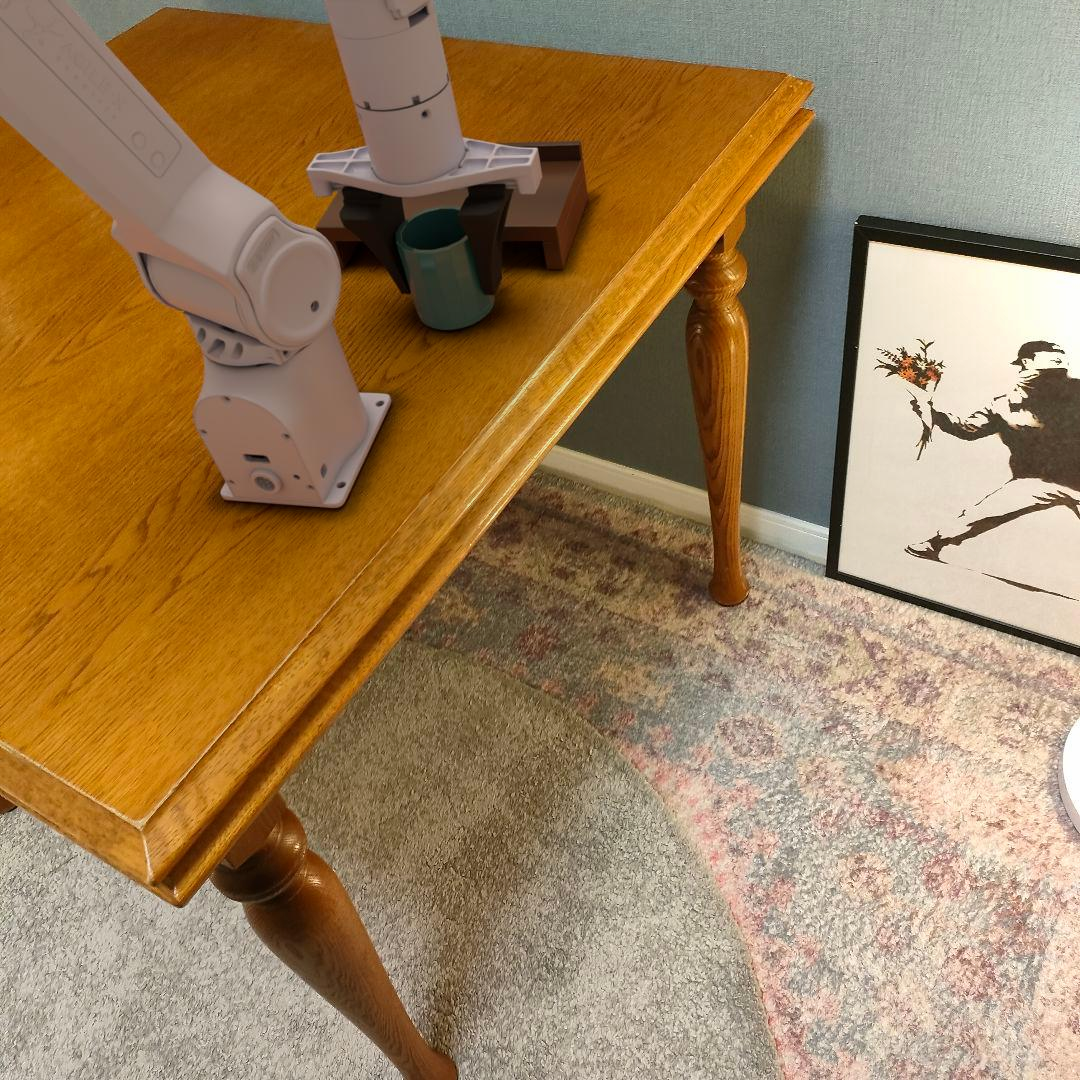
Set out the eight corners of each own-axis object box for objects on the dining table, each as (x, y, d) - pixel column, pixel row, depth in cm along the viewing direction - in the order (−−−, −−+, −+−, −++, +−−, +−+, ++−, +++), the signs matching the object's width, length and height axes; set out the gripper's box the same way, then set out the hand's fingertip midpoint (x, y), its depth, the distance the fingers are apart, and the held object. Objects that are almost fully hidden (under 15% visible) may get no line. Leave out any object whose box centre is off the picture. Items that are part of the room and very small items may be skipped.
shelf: (563, 270, 70) (553, 210, 66) (329, 268, 75) (309, 212, 71) (588, 199, 75) (581, 140, 72) (369, 201, 80) (352, 146, 77)
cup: (483, 331, 66) (464, 253, 62) (407, 329, 68) (384, 253, 63) (503, 282, 70) (487, 205, 65) (431, 281, 71) (410, 205, 67)
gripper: (538, 48, 58) (568, 251, 68) (312, 60, 62) (372, 251, 72) (508, 109, 54) (545, 315, 64) (267, 117, 57) (338, 311, 67)
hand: (451, 285), depth 67 cm, fingers closed on cup, 5 cm apart
